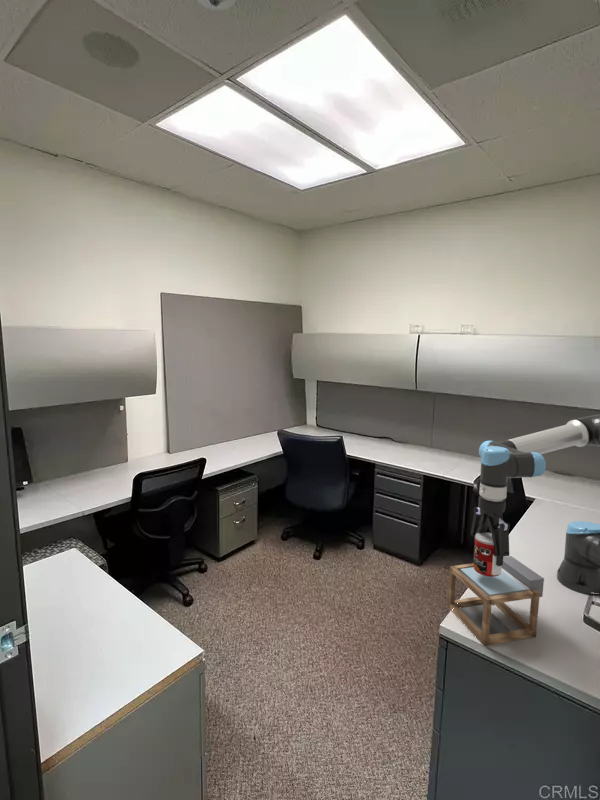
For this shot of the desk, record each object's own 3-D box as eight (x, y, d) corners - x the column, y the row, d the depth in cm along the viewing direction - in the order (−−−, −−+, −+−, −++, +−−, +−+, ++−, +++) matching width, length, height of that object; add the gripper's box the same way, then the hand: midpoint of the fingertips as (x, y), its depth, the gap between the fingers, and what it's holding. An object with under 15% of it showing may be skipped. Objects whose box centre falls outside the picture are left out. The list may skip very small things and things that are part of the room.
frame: (493, 599, 145) (496, 560, 143) (535, 636, 127) (539, 592, 125) (447, 606, 141) (449, 566, 139) (483, 645, 123) (487, 600, 121)
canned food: (469, 564, 135) (471, 532, 133) (493, 564, 135) (495, 531, 134) (479, 577, 127) (482, 543, 126) (505, 577, 128) (508, 543, 126)
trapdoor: (509, 572, 143) (510, 555, 142) (543, 597, 128) (544, 579, 128) (459, 578, 138) (460, 561, 137) (488, 605, 124) (490, 586, 123)
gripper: (461, 486, 137) (457, 552, 140) (505, 511, 117) (499, 587, 120) (481, 485, 139) (476, 550, 142) (527, 509, 119) (521, 583, 122)
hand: (487, 567), depth 131 cm, fingers closed on canned food, 8 cm apart
